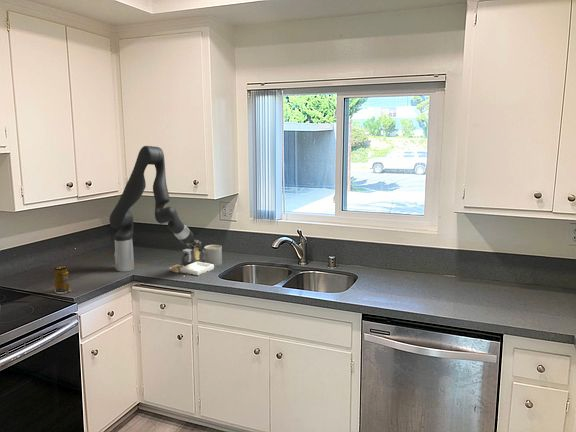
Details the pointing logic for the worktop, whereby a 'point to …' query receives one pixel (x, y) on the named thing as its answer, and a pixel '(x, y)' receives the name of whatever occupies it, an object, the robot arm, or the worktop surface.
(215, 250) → the coffee mug
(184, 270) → the tray
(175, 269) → the stop block
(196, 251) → the pin
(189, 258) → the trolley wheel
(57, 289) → the condiment
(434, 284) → the worktop surface
